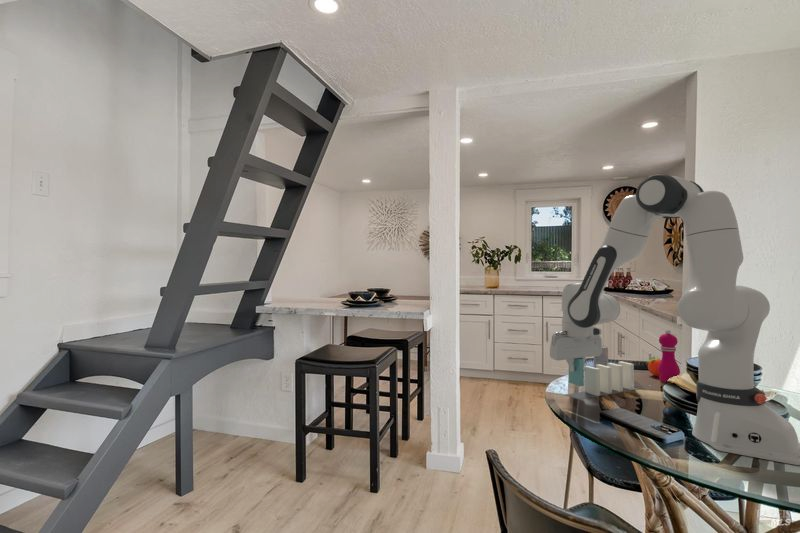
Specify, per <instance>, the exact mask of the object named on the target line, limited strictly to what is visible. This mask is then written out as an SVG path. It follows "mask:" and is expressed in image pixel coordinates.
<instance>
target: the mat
mask: <svg viewBox="0 0 800 533" xmlns="http://www.w3.org/2000/svg"><path fill="white" fill-rule="evenodd" d="M636 390H637V391H638V388H637V387H634V389H633V390H630V389H626V388H623V391H622V392H619V391H616V390H612V393H610V394H608V393H604V392H601V391H600V395H599V396H596V395H593V394H590V393H587V392H585V390H584V391H579V392H574V393H573V392H572V393H568V394H567V393H566V394H565V396H566V397H569V398H571V399H575V400H577V401H580V400H585V399H590V398H596V397H602V396H608V395H613V394H620V393H626V392H630V391H636Z"/></svg>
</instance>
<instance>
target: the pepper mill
mask: <svg viewBox="0 0 800 533" xmlns="http://www.w3.org/2000/svg"><path fill="white" fill-rule="evenodd" d="M658 342H659V344H660V350H661V354H662V355H661V359H660V360H661V362H660V363H659V365H658V372H659V373H660V374H661V376H658V379H659V381H660V382H664V383H667V382H666V381H667V380H668V379H669V378H670V377H673V376H677V375H678V376H680V375H681V374H680V373H681V369H680V366H679V365H678V363H677V361H676V355H675V352H676V351H677V347H676V346H677V345H678V338H677V337H676V335H674V334H672V332H671V330H669V329H666V330H665V333H664V334H660V336H659V338H658ZM678 376H677V377H678Z"/></svg>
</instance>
